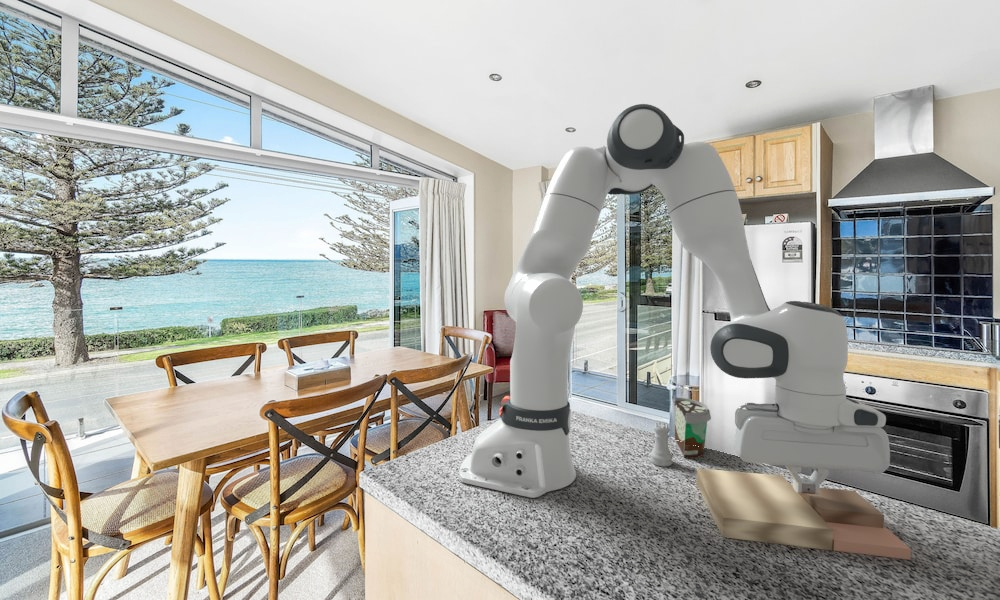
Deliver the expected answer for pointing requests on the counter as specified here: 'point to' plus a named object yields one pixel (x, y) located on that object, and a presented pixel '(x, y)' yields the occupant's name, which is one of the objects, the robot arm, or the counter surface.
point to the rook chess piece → (661, 446)
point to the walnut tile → (844, 508)
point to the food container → (690, 426)
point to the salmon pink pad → (868, 541)
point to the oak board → (762, 509)
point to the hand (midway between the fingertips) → (805, 492)
